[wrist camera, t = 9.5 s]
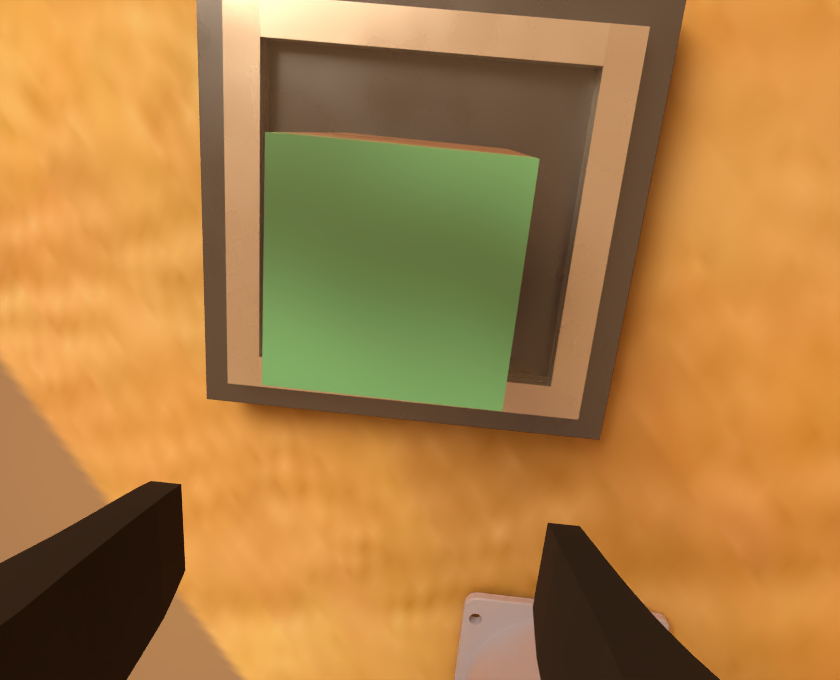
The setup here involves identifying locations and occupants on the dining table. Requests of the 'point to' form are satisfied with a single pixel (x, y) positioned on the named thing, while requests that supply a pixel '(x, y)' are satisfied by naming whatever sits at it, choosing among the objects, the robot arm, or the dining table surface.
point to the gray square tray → (454, 123)
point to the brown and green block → (393, 266)
